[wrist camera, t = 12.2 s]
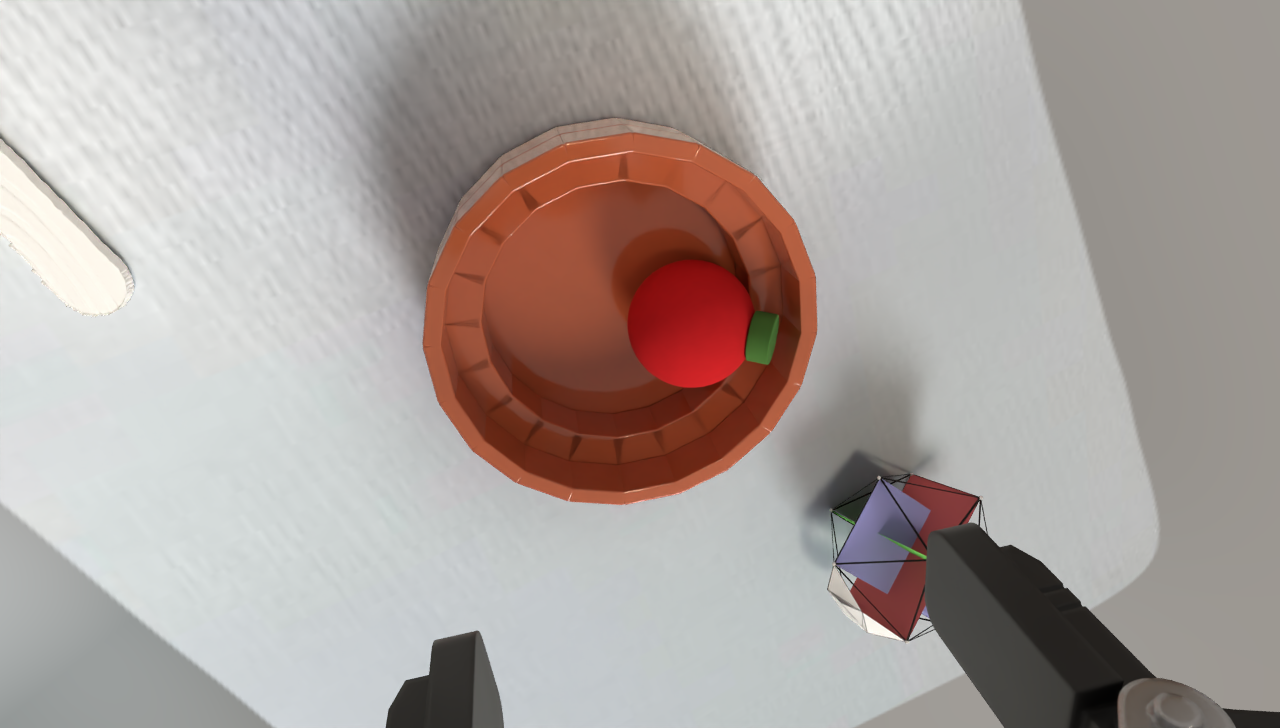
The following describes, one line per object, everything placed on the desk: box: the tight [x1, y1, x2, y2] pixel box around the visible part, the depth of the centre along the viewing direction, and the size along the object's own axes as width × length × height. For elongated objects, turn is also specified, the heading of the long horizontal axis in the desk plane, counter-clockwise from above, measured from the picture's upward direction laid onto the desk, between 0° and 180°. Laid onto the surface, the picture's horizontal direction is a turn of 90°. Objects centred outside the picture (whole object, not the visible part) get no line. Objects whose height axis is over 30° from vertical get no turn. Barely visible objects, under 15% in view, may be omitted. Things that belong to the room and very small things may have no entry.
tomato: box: [627, 260, 779, 388], centre depth 27 cm, size 5×5×5 cm
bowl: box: [422, 118, 817, 505], centre depth 27 cm, size 13×13×4 cm
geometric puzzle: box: [827, 472, 988, 644], centre depth 33 cm, size 7×7×8 cm
